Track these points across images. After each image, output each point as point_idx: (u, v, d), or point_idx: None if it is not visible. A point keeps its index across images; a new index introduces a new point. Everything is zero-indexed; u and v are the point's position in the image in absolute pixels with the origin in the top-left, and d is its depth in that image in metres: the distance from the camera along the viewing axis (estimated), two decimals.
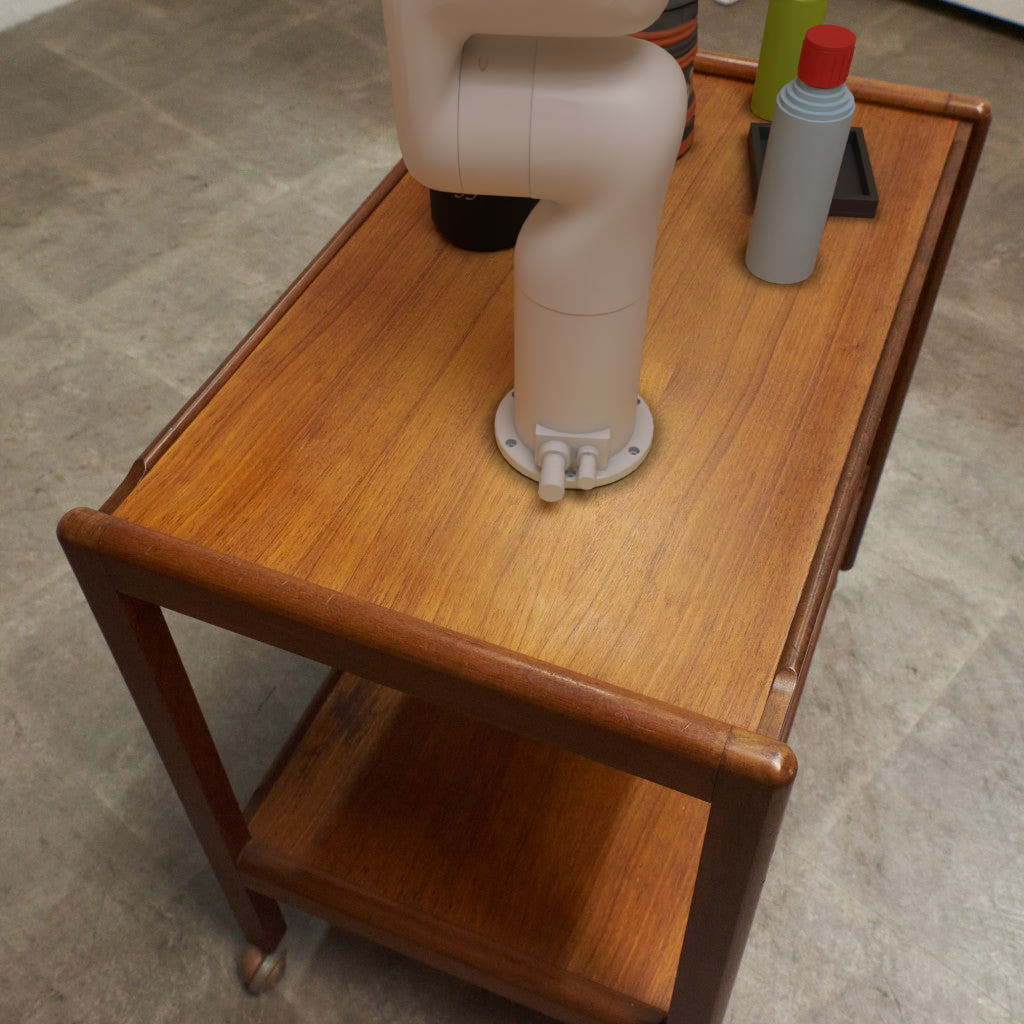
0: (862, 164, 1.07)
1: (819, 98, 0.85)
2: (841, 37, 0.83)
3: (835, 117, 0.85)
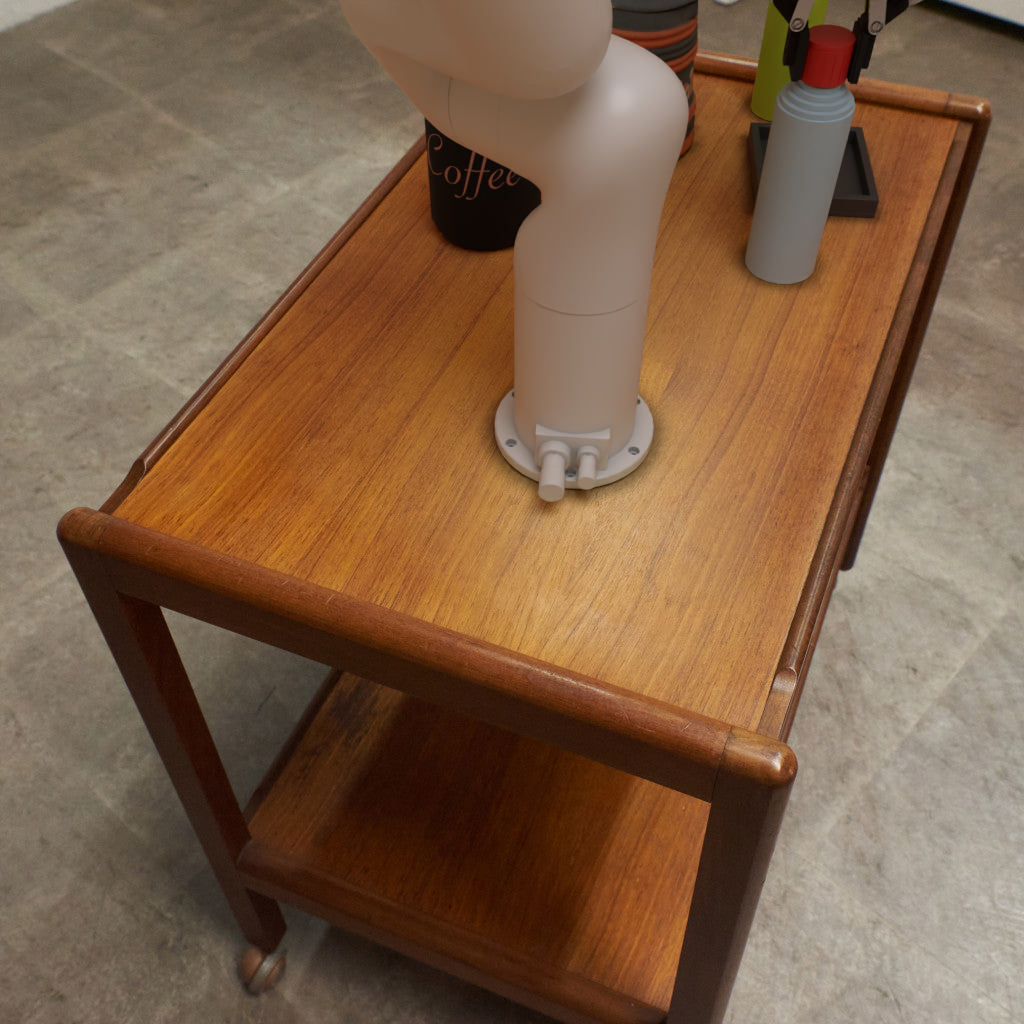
0: (862, 164, 1.07)
1: (819, 98, 0.85)
2: (841, 37, 0.83)
3: (835, 117, 0.85)
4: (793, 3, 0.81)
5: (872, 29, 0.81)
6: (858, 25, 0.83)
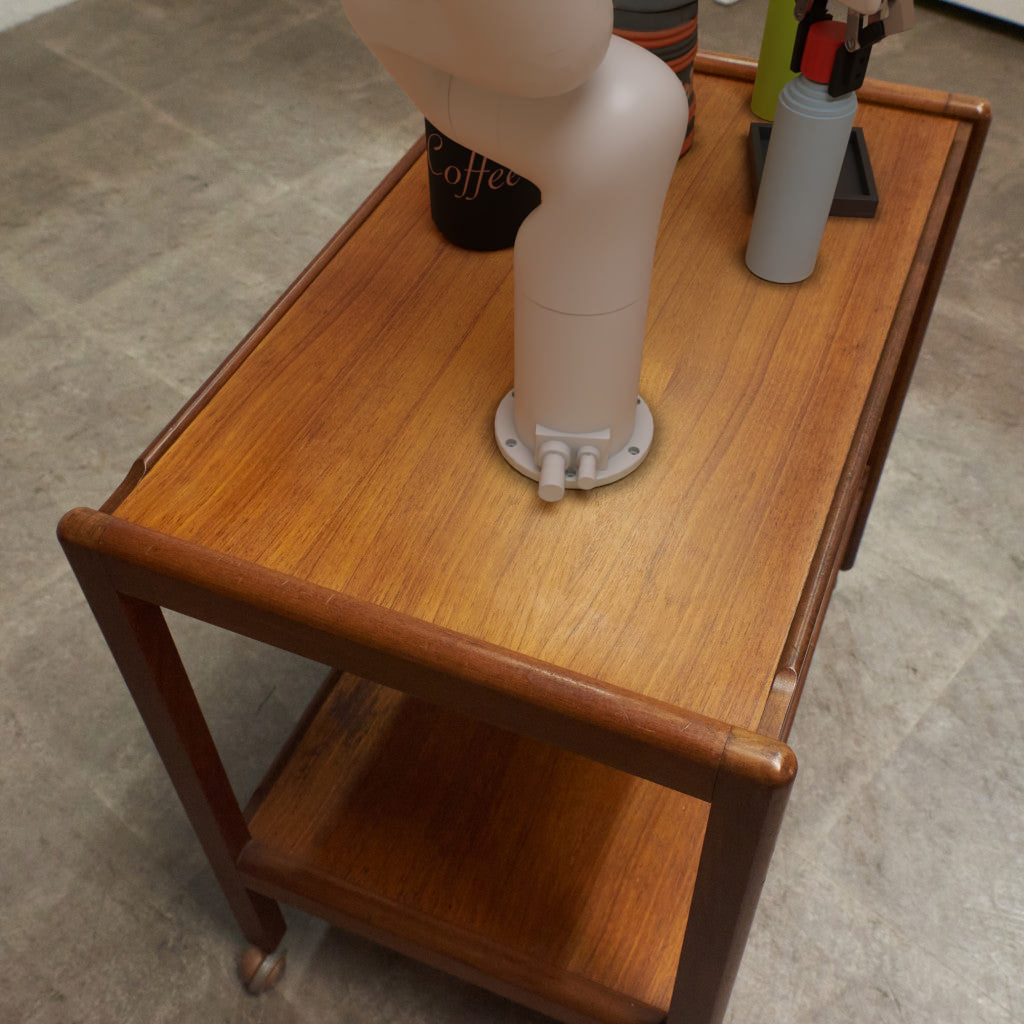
0: (862, 164, 1.07)
1: (822, 95, 0.85)
2: (830, 26, 0.84)
3: (837, 114, 0.86)
4: None
5: None
6: None
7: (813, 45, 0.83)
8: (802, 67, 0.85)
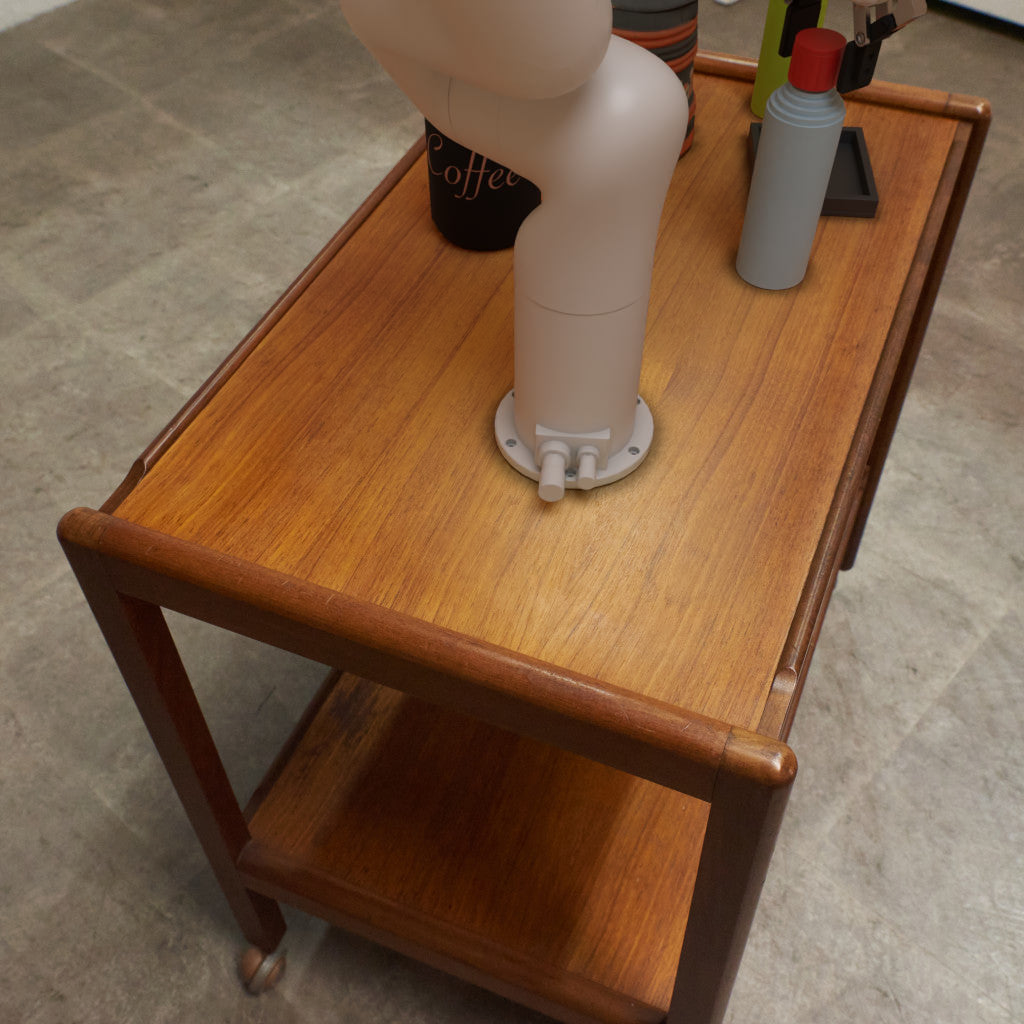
0: (862, 164, 1.07)
1: (809, 103, 0.84)
2: (816, 34, 0.83)
3: (825, 122, 0.85)
4: None
5: None
6: (803, 7, 0.84)
7: (799, 54, 0.83)
8: (789, 75, 0.85)
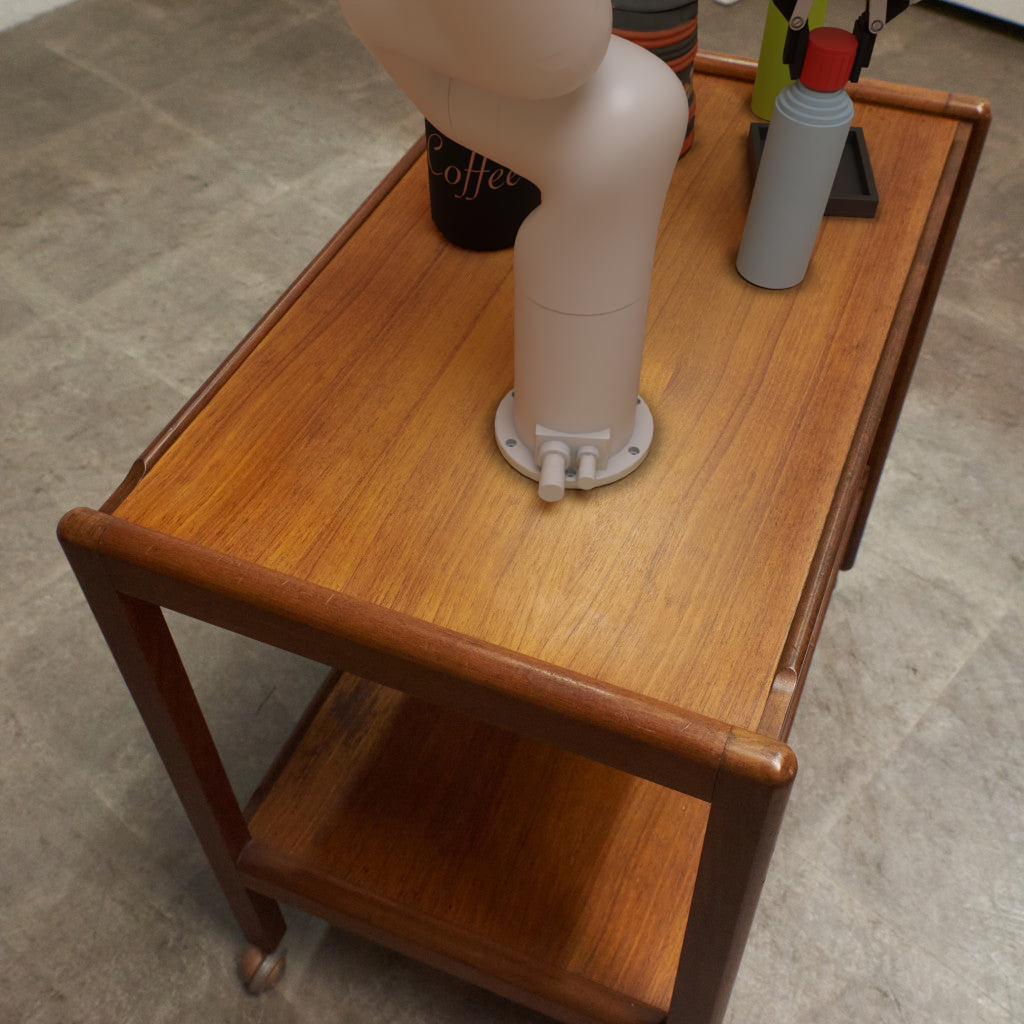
0: (862, 164, 1.07)
1: (819, 102, 0.84)
2: (828, 33, 0.83)
3: (833, 122, 0.85)
4: (793, 1, 0.81)
5: (872, 28, 0.81)
6: (859, 24, 0.83)
7: (811, 52, 0.82)
8: None
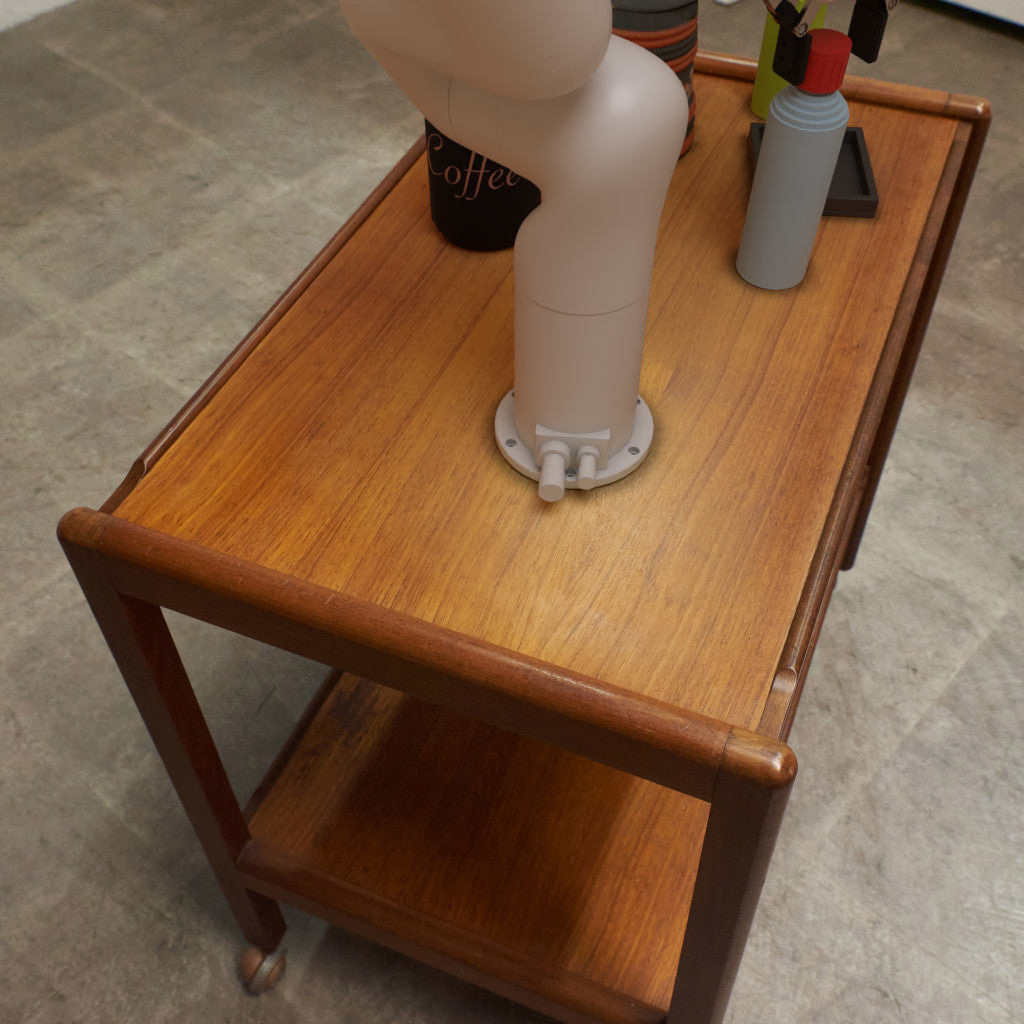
0: (862, 164, 1.07)
1: (813, 107, 0.84)
2: (821, 44, 0.82)
3: (828, 126, 0.85)
4: (795, 10, 0.79)
5: (888, 6, 0.82)
6: (865, 6, 0.83)
7: (849, 54, 0.82)
8: (838, 85, 0.83)
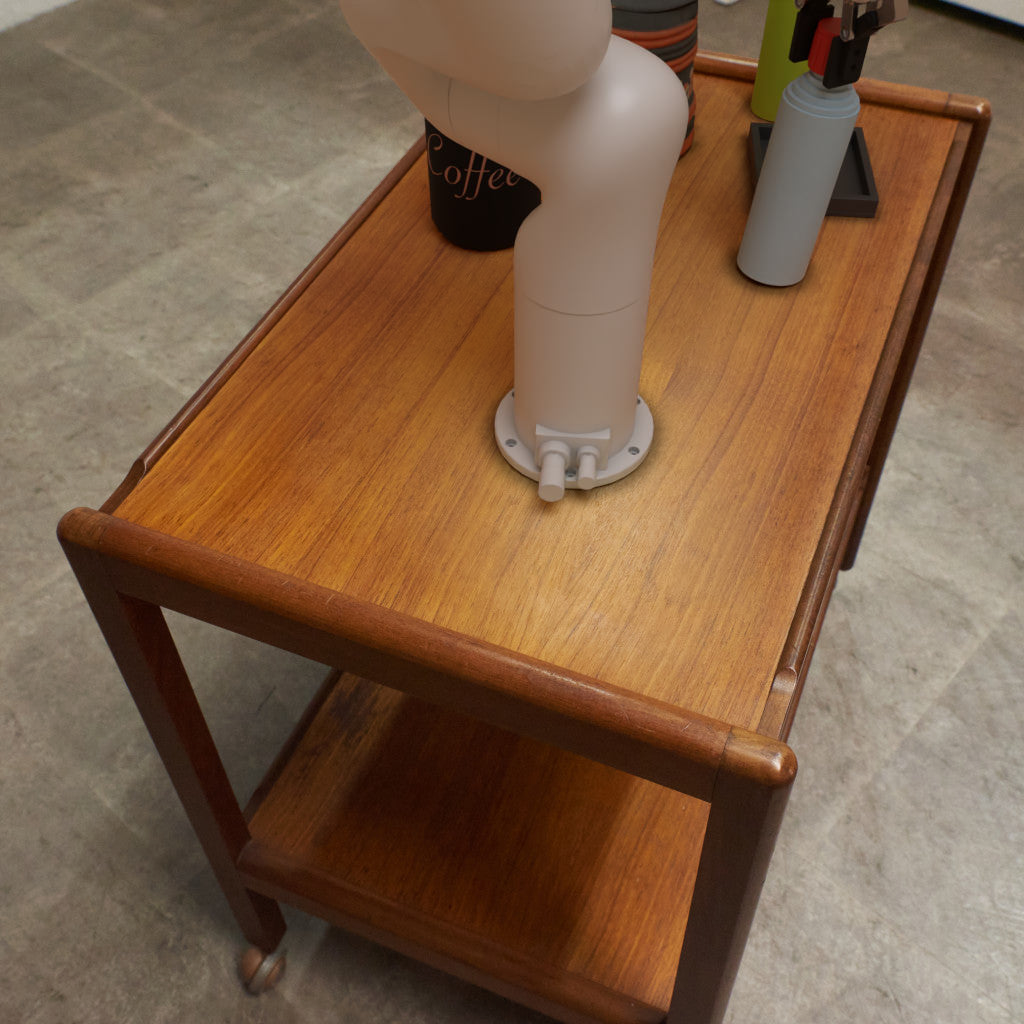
0: (862, 164, 1.07)
1: (826, 94, 0.85)
2: None
3: (841, 114, 0.85)
4: None
5: None
6: (814, 13, 0.84)
7: None
8: None
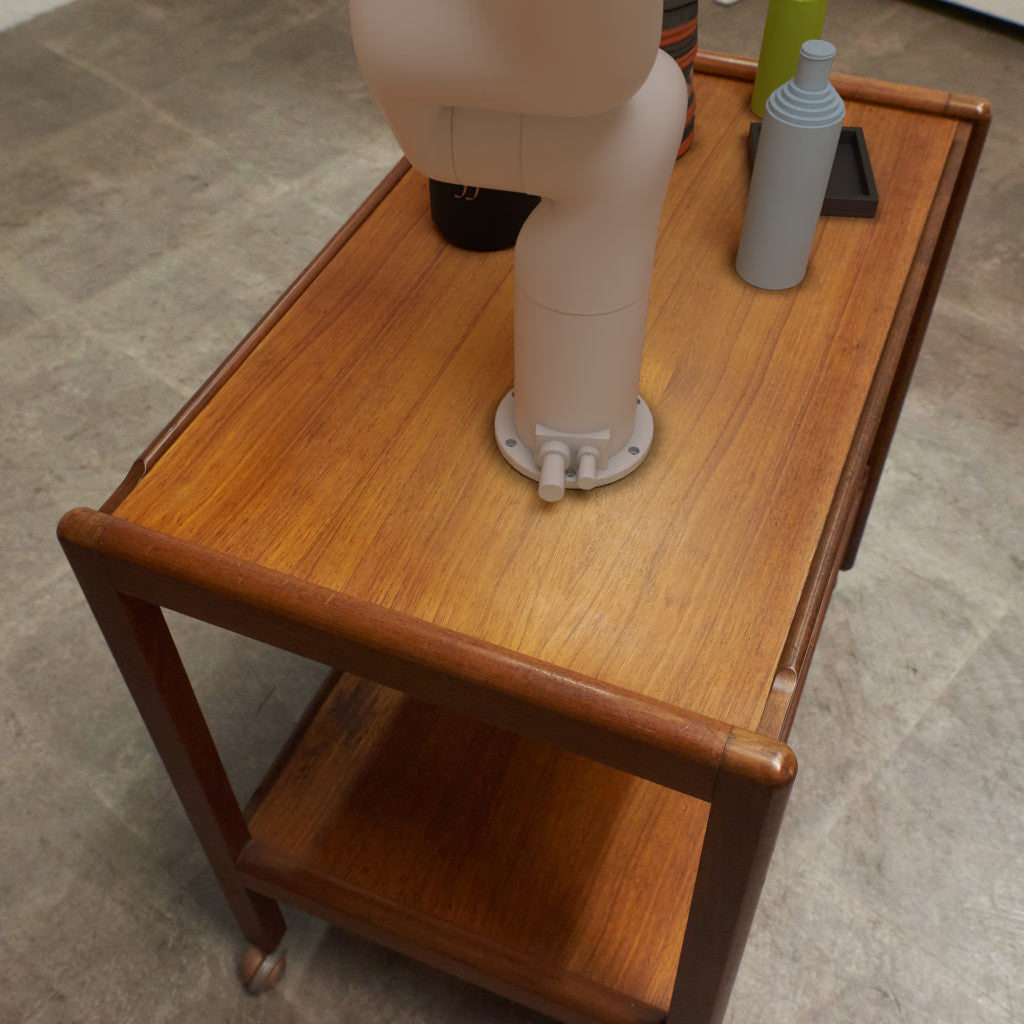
0: (862, 164, 1.07)
1: (808, 103, 0.84)
2: None
3: (824, 123, 0.85)
4: None
5: None
6: None
7: None
8: None
